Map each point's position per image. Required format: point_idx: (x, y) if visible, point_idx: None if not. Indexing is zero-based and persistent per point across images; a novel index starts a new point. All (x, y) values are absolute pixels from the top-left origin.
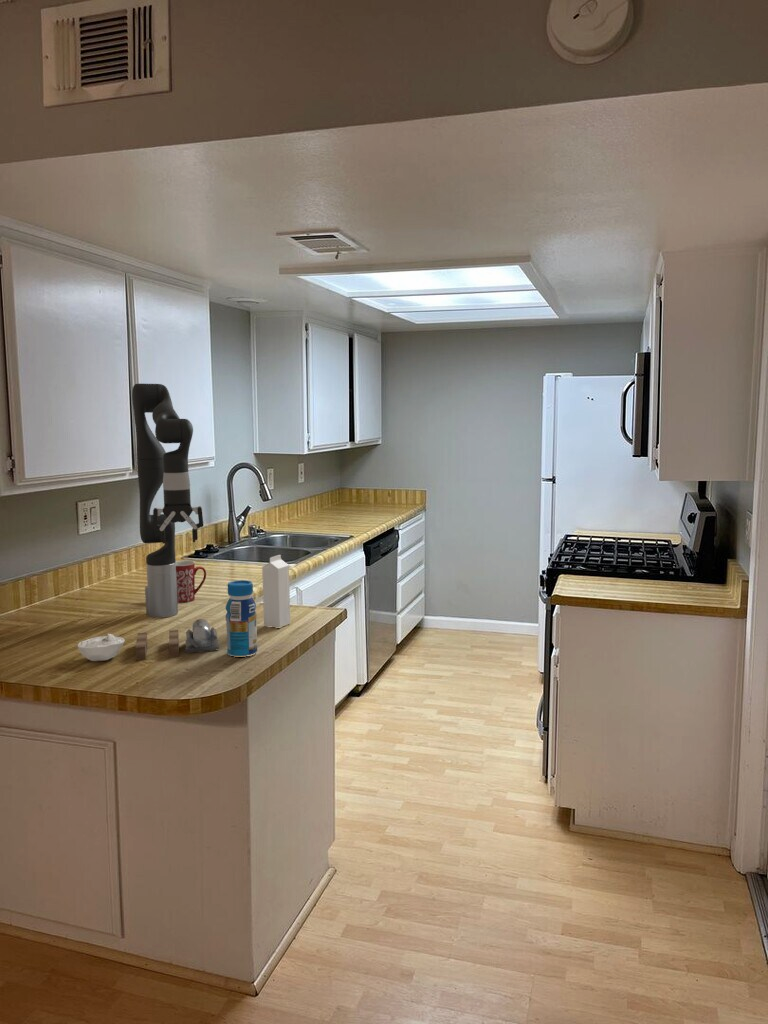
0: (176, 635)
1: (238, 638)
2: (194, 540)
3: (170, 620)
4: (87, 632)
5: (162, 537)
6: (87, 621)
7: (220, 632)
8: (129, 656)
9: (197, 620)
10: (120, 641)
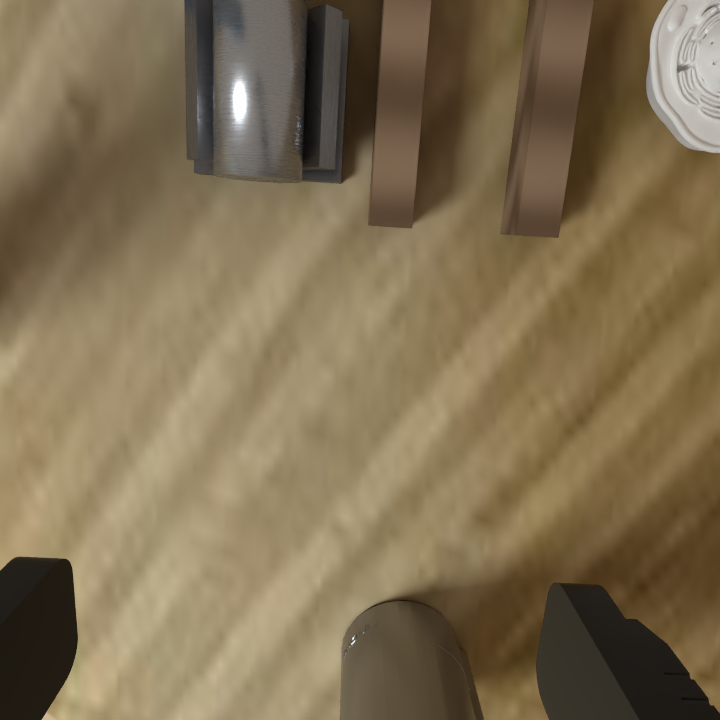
0: (385, 124)
1: None
2: (20, 566)
3: (378, 555)
4: (709, 494)
5: (655, 663)
6: (689, 642)
7: (180, 305)
8: (592, 71)
9: (268, 158)
10: (676, 11)
